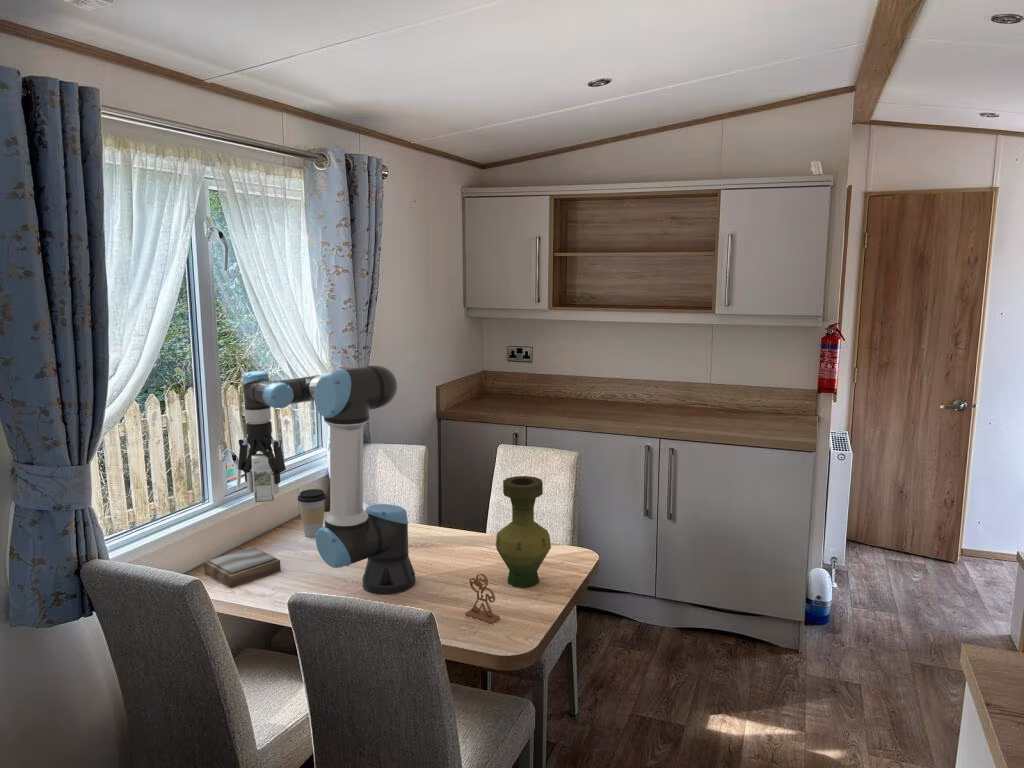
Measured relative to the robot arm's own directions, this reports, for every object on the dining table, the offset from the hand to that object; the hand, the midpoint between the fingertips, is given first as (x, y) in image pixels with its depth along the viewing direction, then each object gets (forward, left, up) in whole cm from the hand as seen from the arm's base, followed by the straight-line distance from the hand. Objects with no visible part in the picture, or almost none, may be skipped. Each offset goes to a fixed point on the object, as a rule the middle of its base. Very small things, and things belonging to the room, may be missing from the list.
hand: (263, 492), depth 238 cm
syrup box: (0, 0, -2) cm, 2 cm away
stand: (-6, +11, -21) cm, 25 cm away
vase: (-74, -40, -21) cm, 86 cm away
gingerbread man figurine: (-81, -16, -21) cm, 85 cm away
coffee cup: (+5, -21, -21) cm, 30 cm away
